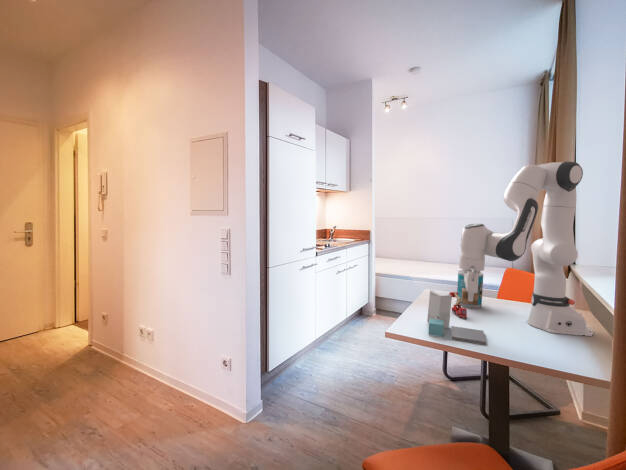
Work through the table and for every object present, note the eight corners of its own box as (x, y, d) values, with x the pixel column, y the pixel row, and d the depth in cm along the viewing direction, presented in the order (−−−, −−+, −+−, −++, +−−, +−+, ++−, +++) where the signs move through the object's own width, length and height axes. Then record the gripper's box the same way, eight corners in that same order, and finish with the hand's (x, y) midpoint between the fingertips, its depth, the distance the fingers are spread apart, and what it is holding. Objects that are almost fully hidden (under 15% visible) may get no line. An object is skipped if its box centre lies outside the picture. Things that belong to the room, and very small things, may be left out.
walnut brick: (476, 301, 124) (477, 289, 124) (477, 305, 119) (478, 292, 119) (461, 299, 127) (462, 287, 126) (462, 303, 122) (462, 291, 121)
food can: (452, 301, 171) (454, 270, 169) (473, 301, 171) (475, 270, 170) (463, 308, 159) (465, 274, 157) (486, 308, 159) (488, 274, 158)
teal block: (443, 332, 129) (443, 320, 128) (442, 337, 124) (443, 325, 123) (429, 329, 131) (429, 318, 130) (428, 334, 126) (428, 322, 125)
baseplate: (482, 333, 127) (483, 330, 127) (486, 345, 116) (486, 342, 116) (451, 328, 132) (451, 325, 132) (451, 339, 121) (451, 336, 121)
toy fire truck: (460, 318, 144) (461, 298, 143) (448, 309, 158) (449, 291, 157) (467, 319, 144) (468, 299, 143) (454, 309, 158) (455, 291, 157)
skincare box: (426, 322, 140) (428, 290, 138) (438, 320, 141) (439, 289, 140) (438, 329, 132) (440, 295, 130) (450, 327, 133) (452, 294, 132)
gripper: (483, 270, 111) (481, 307, 112) (478, 261, 130) (476, 293, 131) (464, 268, 113) (462, 304, 115) (461, 260, 132) (460, 291, 133)
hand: (469, 298), depth 123 cm, fingers closed on walnut brick, 5 cm apart
